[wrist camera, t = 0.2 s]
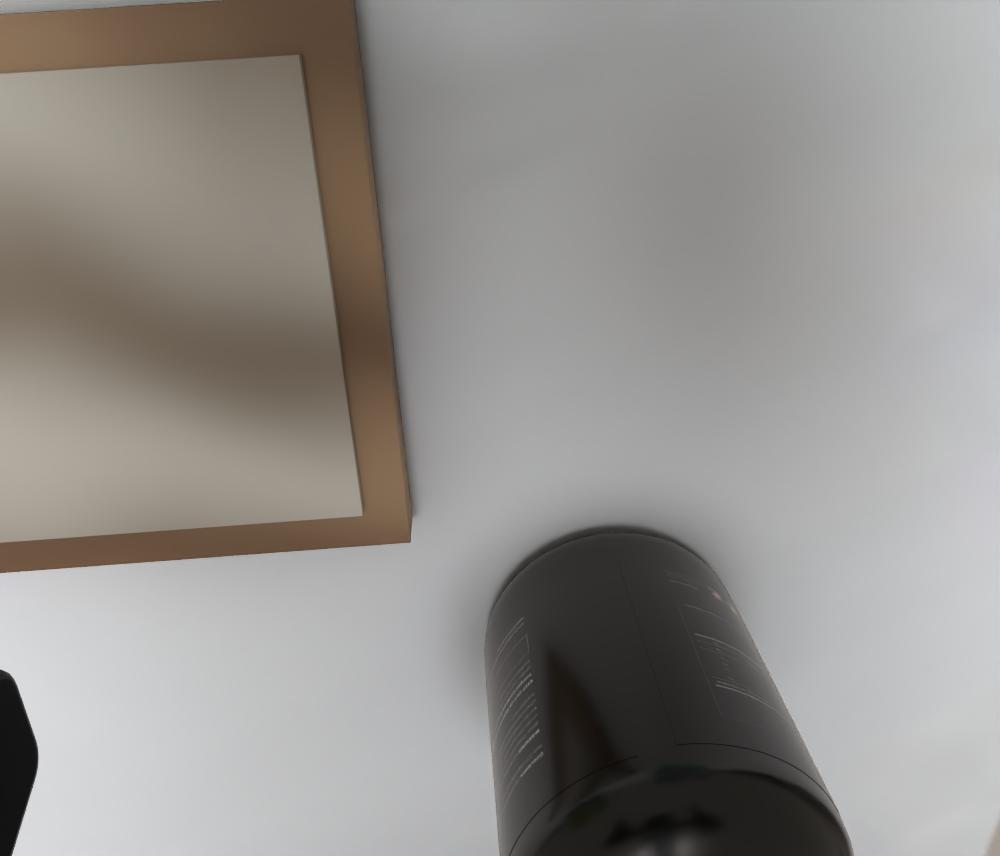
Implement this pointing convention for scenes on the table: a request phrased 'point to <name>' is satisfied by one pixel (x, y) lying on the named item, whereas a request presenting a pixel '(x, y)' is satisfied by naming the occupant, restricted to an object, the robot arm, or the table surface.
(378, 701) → the table surface
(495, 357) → the table surface
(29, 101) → the picture frame
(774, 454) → the table surface
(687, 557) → the supplement bottle
